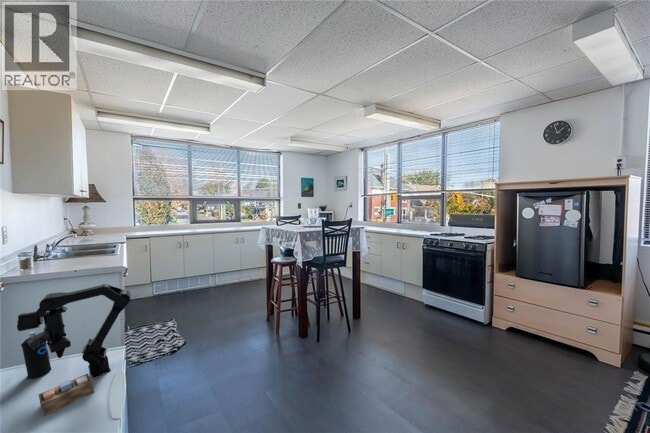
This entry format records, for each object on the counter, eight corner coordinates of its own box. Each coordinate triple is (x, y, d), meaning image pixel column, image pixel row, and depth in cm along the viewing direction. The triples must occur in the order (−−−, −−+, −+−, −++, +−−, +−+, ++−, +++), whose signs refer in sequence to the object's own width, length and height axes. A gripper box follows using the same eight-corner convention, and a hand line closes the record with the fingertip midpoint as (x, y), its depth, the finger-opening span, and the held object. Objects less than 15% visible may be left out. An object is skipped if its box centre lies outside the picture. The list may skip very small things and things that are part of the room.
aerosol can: (23, 381, 130) (15, 339, 127) (31, 370, 137) (23, 330, 134) (48, 375, 133) (40, 334, 130) (54, 365, 141) (47, 326, 138)
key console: (89, 384, 127) (87, 373, 126) (93, 392, 122) (92, 381, 121) (40, 405, 115) (38, 394, 114) (43, 416, 110) (41, 404, 109)
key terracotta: (55, 397, 117) (53, 388, 116) (56, 401, 114) (55, 392, 114) (44, 402, 114) (42, 393, 114) (45, 406, 112) (43, 397, 112)
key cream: (86, 383, 124) (85, 375, 124) (88, 386, 122) (87, 378, 121) (77, 387, 122) (75, 379, 121) (78, 390, 120) (77, 382, 119)
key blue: (71, 387, 120) (69, 379, 120) (72, 391, 118) (71, 382, 118) (60, 392, 118) (59, 383, 117) (62, 396, 116) (60, 387, 115)
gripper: (24, 324, 124) (31, 358, 126) (30, 339, 112) (37, 376, 114) (59, 314, 132) (65, 346, 135) (68, 327, 120) (74, 362, 123)
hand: (60, 357), depth 126 cm, fingers closed
